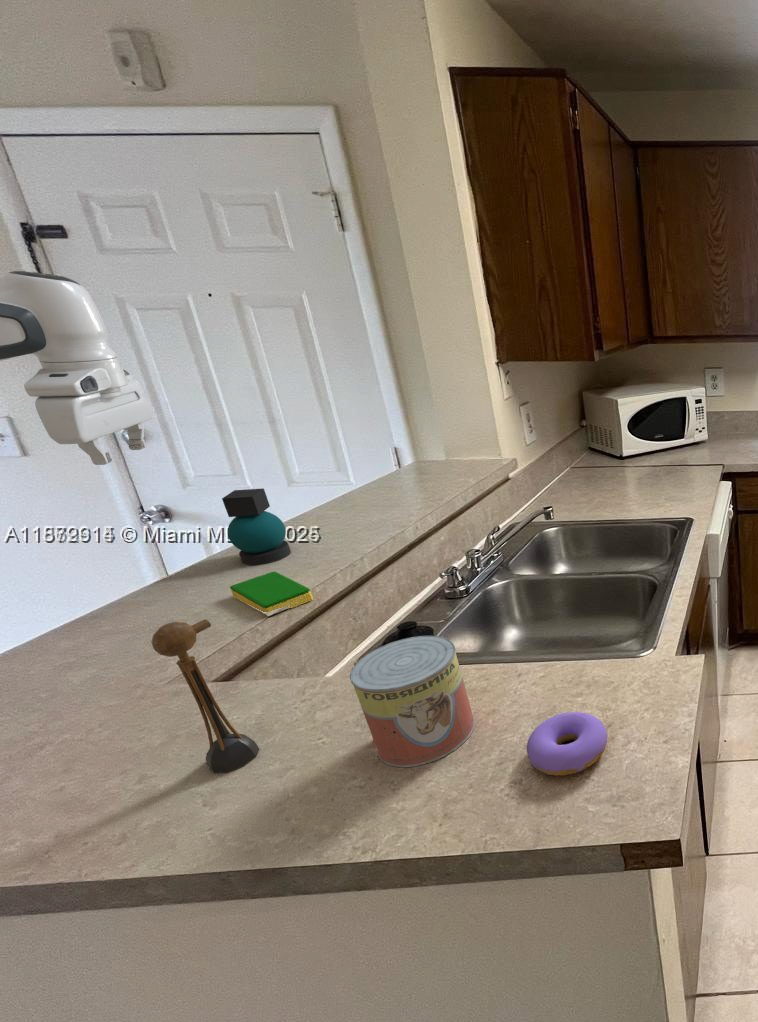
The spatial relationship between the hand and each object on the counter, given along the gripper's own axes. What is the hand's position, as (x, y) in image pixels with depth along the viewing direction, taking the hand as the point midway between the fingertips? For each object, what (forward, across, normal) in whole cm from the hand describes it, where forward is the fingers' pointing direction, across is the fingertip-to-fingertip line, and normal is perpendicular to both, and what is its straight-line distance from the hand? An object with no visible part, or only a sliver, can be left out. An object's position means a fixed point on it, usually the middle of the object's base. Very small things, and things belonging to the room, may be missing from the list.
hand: (121, 456), depth 108 cm
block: (+15, -8, +12) cm, 20 cm away
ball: (+25, -8, +12) cm, 29 cm away
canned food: (+24, +61, +56) cm, 86 cm away
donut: (+24, +70, +74) cm, 105 cm away
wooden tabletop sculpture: (+25, +58, +34) cm, 72 cm away
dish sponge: (+25, +13, +21) cm, 35 cm away
